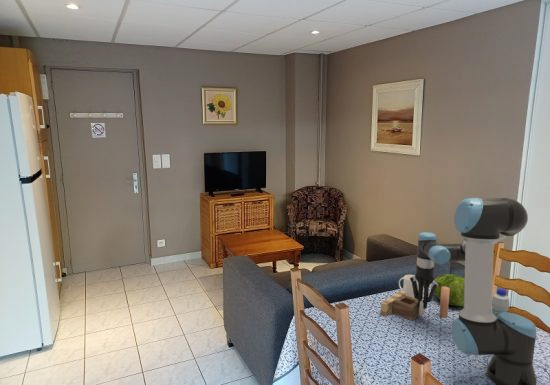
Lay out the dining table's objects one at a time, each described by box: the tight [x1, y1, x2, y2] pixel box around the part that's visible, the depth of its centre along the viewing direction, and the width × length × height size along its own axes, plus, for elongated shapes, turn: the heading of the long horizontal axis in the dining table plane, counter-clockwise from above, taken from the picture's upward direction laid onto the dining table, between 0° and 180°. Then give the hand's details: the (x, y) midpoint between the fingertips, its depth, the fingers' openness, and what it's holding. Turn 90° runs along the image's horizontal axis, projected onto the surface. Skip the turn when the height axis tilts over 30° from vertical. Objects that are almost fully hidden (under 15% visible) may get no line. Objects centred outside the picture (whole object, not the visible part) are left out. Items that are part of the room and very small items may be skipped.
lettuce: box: [430, 273, 465, 307], centre depth 201 cm, size 16×21×15 cm
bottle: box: [492, 288, 510, 319], centre depth 170 cm, size 7×7×20 cm
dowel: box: [438, 286, 450, 319], centre depth 186 cm, size 4×4×14 cm
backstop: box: [380, 290, 406, 317], centre depth 193 cm, size 20×3×6 cm, turn 136°
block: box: [391, 295, 420, 321], centre depth 188 cm, size 10×10×6 cm
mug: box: [398, 274, 419, 299], centre depth 205 cm, size 12×8×12 cm
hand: (421, 314), depth 184 cm, fingers closed
